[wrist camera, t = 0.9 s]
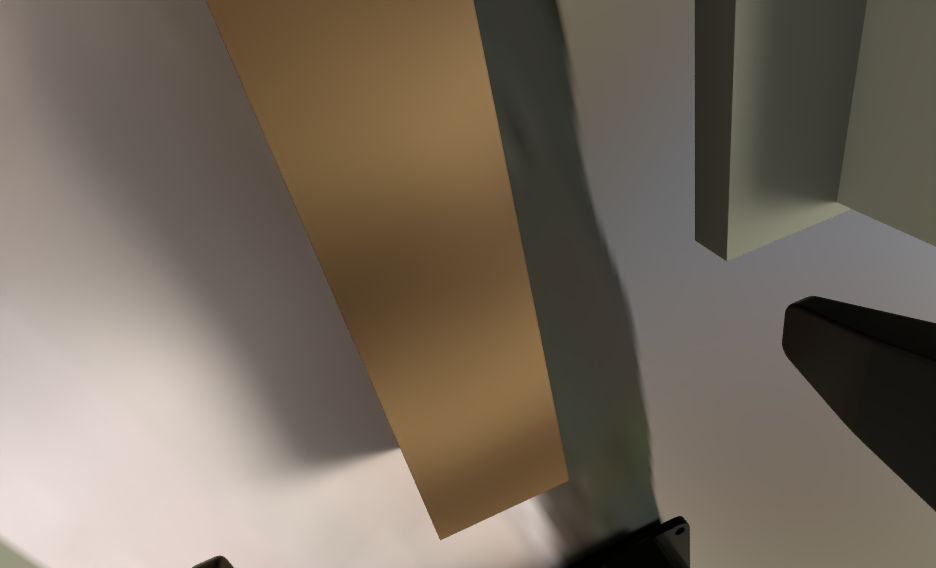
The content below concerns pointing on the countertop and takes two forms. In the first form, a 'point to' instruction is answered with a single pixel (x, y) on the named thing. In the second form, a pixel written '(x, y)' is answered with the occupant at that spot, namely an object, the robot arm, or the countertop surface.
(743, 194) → the ridge stand
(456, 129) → the walnut beam
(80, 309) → the countertop surface
